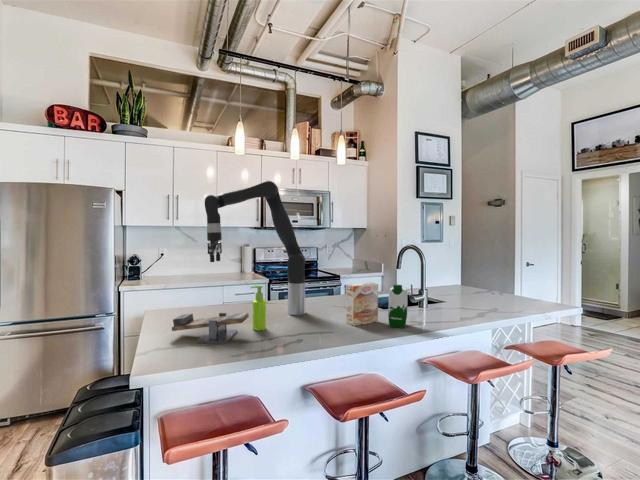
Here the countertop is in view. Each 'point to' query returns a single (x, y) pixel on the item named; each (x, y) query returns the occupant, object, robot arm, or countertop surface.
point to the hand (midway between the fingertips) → (215, 261)
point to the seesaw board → (206, 321)
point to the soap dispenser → (259, 310)
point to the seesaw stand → (217, 333)
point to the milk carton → (397, 306)
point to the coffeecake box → (361, 303)
